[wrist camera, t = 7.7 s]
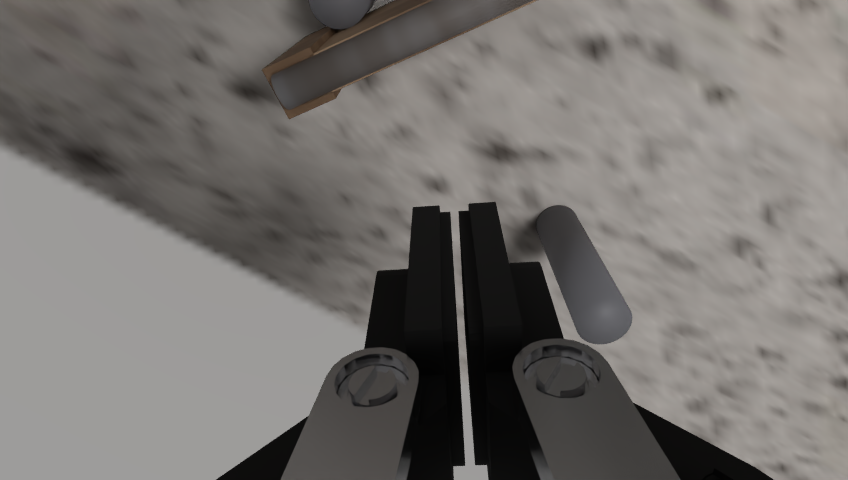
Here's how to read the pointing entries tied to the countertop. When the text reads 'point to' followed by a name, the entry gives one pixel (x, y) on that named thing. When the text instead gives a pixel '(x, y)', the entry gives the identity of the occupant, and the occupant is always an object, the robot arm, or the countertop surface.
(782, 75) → the countertop surface
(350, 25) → the gate frame
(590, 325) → the post
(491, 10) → the gate
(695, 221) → the countertop surface
